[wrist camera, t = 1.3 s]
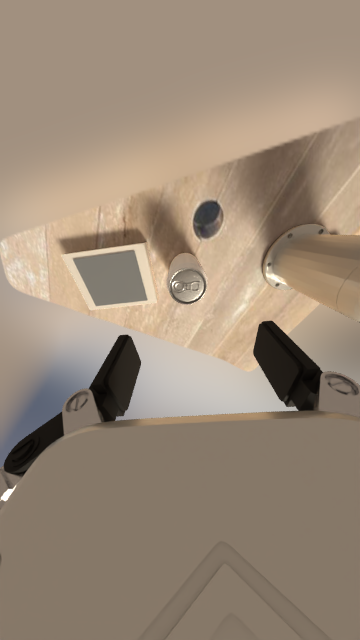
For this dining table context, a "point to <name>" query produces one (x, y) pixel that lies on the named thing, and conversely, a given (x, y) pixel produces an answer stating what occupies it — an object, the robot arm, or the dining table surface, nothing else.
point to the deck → (114, 276)
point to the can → (186, 279)
